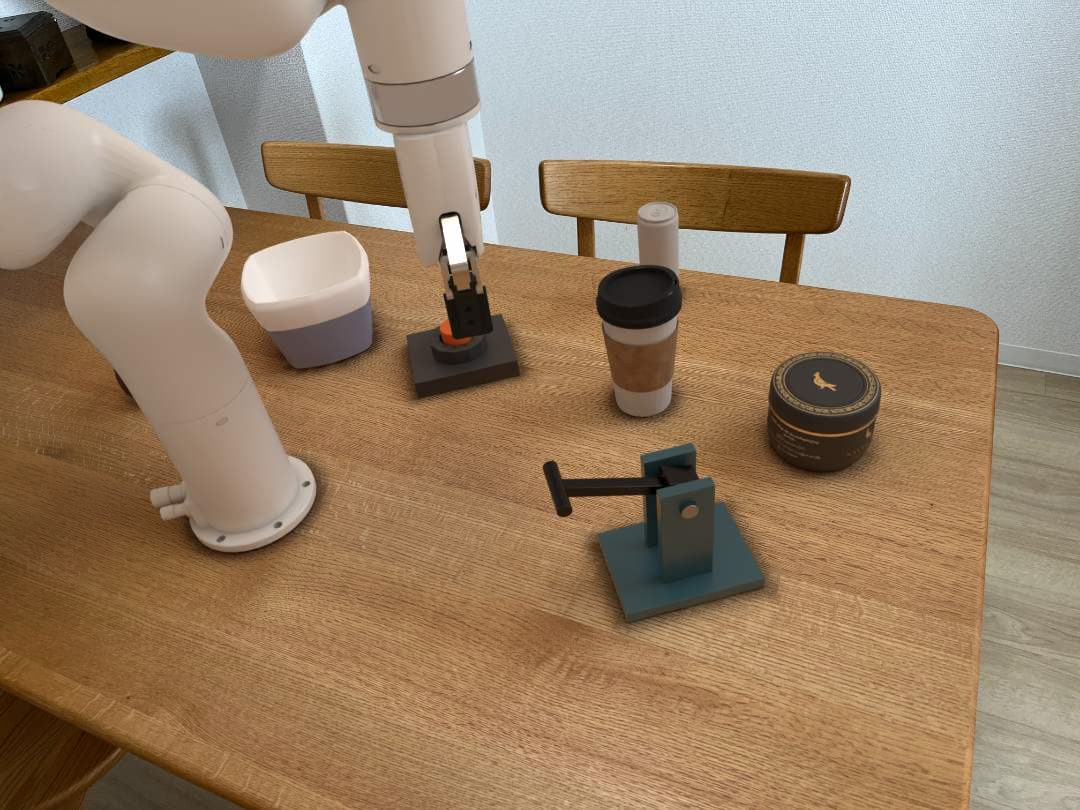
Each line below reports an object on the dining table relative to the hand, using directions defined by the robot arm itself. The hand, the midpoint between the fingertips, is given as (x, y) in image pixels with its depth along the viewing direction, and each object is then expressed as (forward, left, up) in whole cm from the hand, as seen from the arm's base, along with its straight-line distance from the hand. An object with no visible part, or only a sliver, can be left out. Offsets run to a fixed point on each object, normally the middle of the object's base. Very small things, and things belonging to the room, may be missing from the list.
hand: (466, 300), depth 66 cm
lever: (+8, -14, -12) cm, 20 cm away
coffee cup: (+17, +7, -22) cm, 29 cm away
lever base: (+13, -15, -22) cm, 29 cm away
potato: (-38, +29, -22) cm, 53 cm away
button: (-1, +21, -18) cm, 28 cm away
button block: (-1, +21, -22) cm, 31 cm away
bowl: (-17, +32, -22) cm, 43 cm away
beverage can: (+25, +25, -22) cm, 42 cm away
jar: (+31, -5, -22) cm, 38 cm away
